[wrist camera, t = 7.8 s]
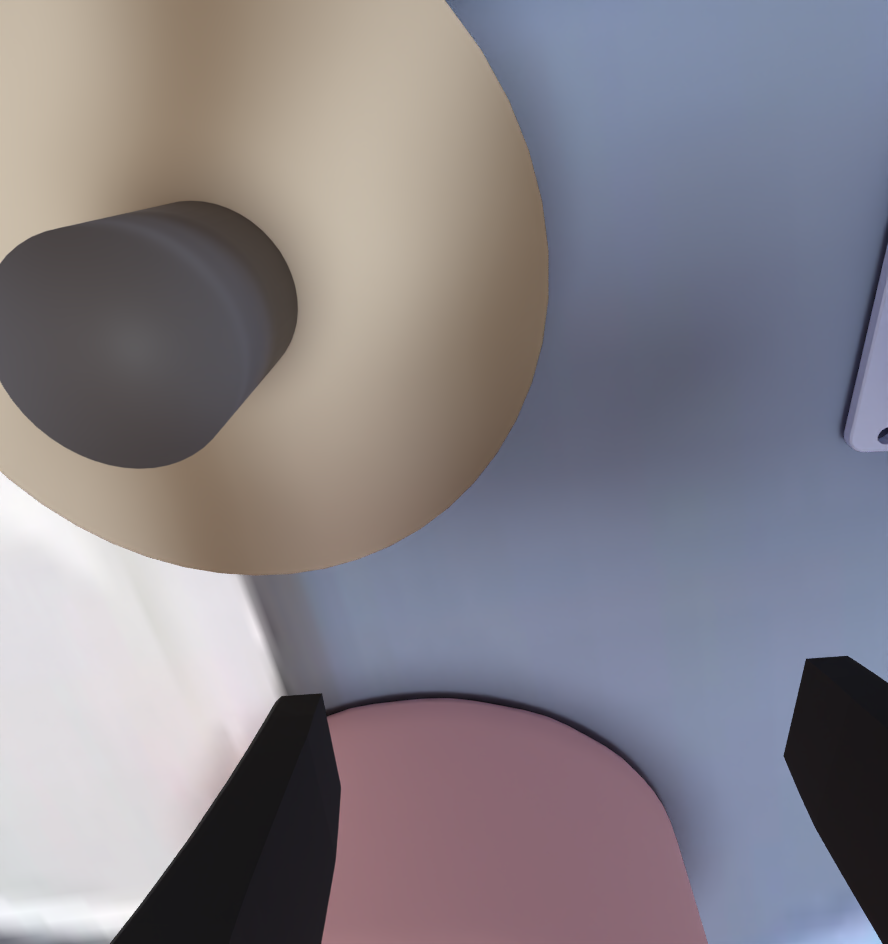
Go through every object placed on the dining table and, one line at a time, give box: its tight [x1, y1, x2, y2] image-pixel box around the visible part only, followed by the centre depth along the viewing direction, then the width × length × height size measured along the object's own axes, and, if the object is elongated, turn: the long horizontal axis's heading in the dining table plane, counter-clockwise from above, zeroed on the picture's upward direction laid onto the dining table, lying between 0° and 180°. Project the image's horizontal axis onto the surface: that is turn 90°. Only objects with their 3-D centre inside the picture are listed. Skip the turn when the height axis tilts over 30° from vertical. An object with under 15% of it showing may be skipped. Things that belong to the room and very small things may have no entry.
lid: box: [0, 0, 548, 575], centre depth 10 cm, size 12×12×4 cm
